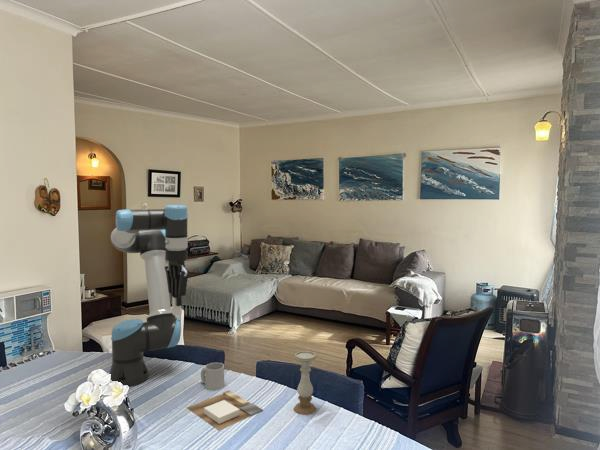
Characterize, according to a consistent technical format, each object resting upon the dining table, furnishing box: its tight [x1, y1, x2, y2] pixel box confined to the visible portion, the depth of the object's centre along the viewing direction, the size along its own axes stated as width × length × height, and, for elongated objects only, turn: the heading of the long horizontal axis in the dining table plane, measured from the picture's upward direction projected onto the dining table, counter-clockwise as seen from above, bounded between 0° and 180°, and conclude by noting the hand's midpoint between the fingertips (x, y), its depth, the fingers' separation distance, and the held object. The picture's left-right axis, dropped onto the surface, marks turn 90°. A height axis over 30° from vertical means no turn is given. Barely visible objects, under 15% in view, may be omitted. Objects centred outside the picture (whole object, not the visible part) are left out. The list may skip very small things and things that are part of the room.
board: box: [186, 393, 265, 431], centre depth 146 cm, size 20×18×1 cm
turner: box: [222, 389, 264, 417], centre depth 150 cm, size 18×5×2 cm, turn 44°
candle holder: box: [293, 350, 318, 416], centre depth 146 cm, size 9×9×20 cm
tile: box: [204, 400, 240, 424], centre depth 142 cm, size 2×8×9 cm
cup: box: [200, 362, 225, 391], centre depth 164 cm, size 7×10×9 cm
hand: (177, 314), depth 152 cm, fingers closed
